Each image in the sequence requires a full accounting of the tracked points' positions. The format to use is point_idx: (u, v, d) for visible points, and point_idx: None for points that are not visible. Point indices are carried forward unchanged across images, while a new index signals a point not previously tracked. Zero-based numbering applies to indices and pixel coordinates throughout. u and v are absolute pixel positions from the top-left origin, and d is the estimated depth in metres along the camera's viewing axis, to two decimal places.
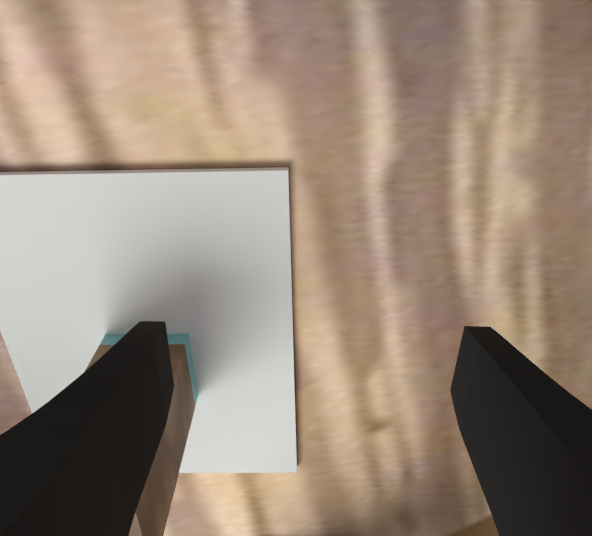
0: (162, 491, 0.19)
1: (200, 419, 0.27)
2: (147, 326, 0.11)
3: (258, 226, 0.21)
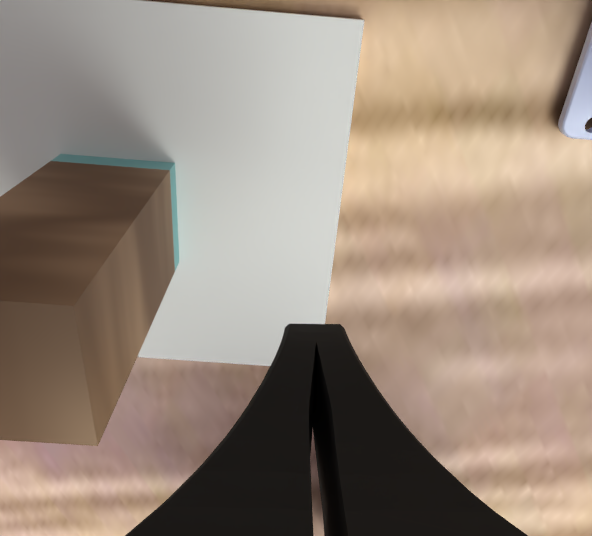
0: (49, 247, 0.12)
1: (223, 168, 0.18)
2: (301, 328, 0.11)
3: None
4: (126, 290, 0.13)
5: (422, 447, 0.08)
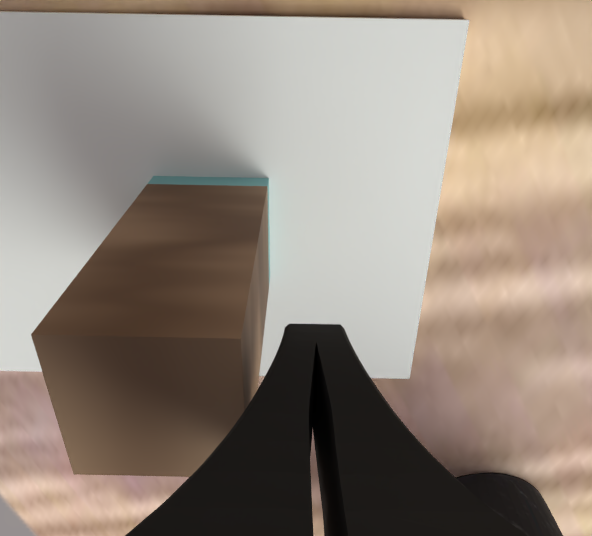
0: (187, 275, 0.12)
1: (318, 180, 0.17)
2: (301, 328, 0.11)
3: None
4: (255, 314, 0.13)
5: (422, 447, 0.08)
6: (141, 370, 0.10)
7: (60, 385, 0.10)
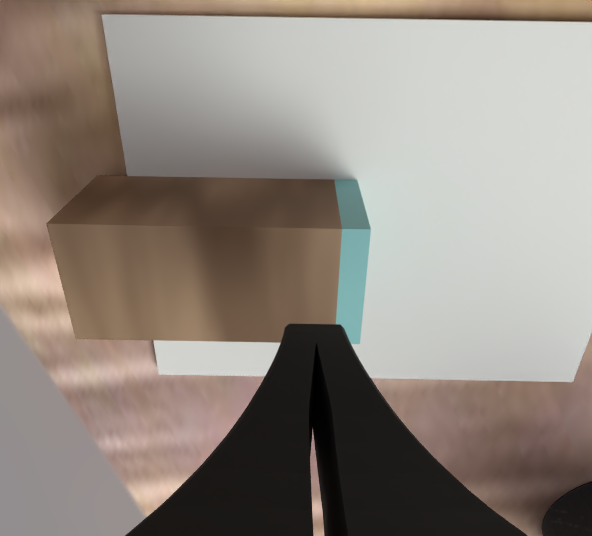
0: (143, 204, 0.15)
1: (522, 184, 0.17)
2: (302, 328, 0.11)
3: (186, 63, 0.16)
4: (158, 271, 0.15)
5: (422, 447, 0.08)
6: None
7: None
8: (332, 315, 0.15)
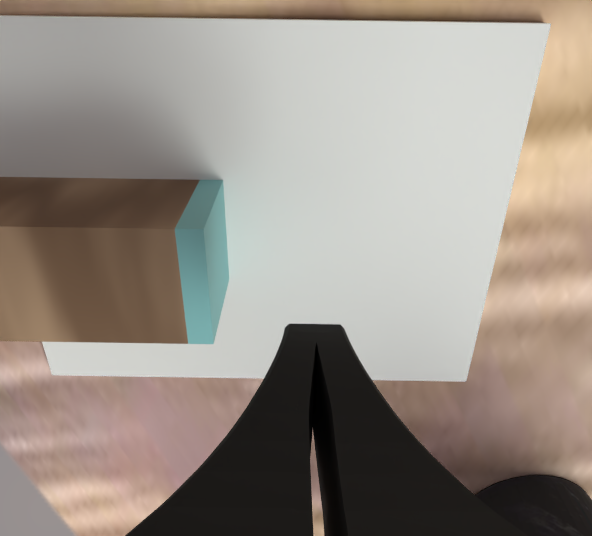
0: None
1: (388, 184, 0.17)
2: (302, 328, 0.11)
3: (36, 63, 0.16)
4: None
5: (422, 447, 0.08)
6: None
7: None
8: (180, 315, 0.15)
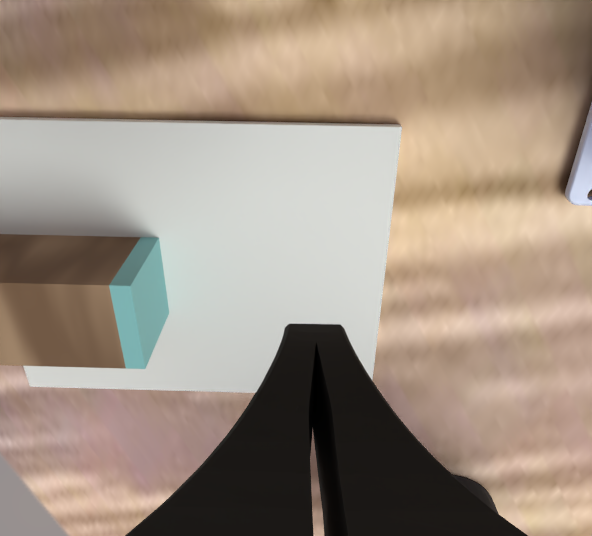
0: None
1: (289, 242, 0.22)
2: (301, 328, 0.11)
3: (10, 152, 0.20)
4: None
5: (422, 447, 0.08)
6: None
7: None
8: (118, 347, 0.20)
